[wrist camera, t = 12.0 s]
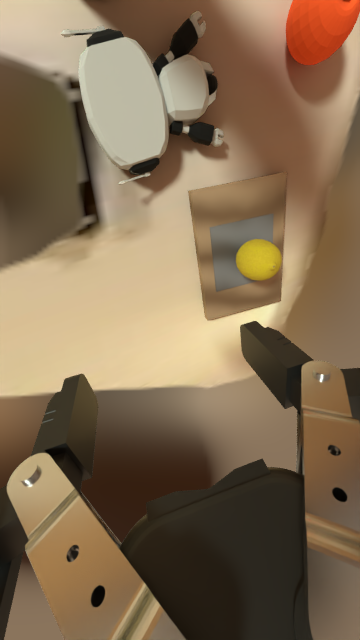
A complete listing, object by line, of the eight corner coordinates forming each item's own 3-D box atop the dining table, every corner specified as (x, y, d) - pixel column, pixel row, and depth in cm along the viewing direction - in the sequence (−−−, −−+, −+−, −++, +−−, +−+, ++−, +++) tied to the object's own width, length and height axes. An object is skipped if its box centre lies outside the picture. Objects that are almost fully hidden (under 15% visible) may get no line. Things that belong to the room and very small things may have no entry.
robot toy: (193, 21, 25) (60, 56, 23) (210, -13, 21) (52, 26, 20) (217, 153, 31) (113, 189, 29) (233, 145, 27) (115, 186, 26)
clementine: (280, -31, 24) (335, -109, 18) (335, -19, 26) (403, -88, 20) (268, 73, 28) (310, 38, 22) (316, 79, 29) (369, 47, 23)
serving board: (188, 191, 32) (191, 190, 30) (280, 172, 33) (287, 171, 32) (205, 316, 41) (208, 321, 40) (275, 297, 43) (281, 301, 42)
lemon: (265, 239, 36) (300, 248, 29) (253, 274, 38) (283, 290, 31) (233, 232, 34) (263, 240, 27) (223, 269, 36) (248, 284, 29)
